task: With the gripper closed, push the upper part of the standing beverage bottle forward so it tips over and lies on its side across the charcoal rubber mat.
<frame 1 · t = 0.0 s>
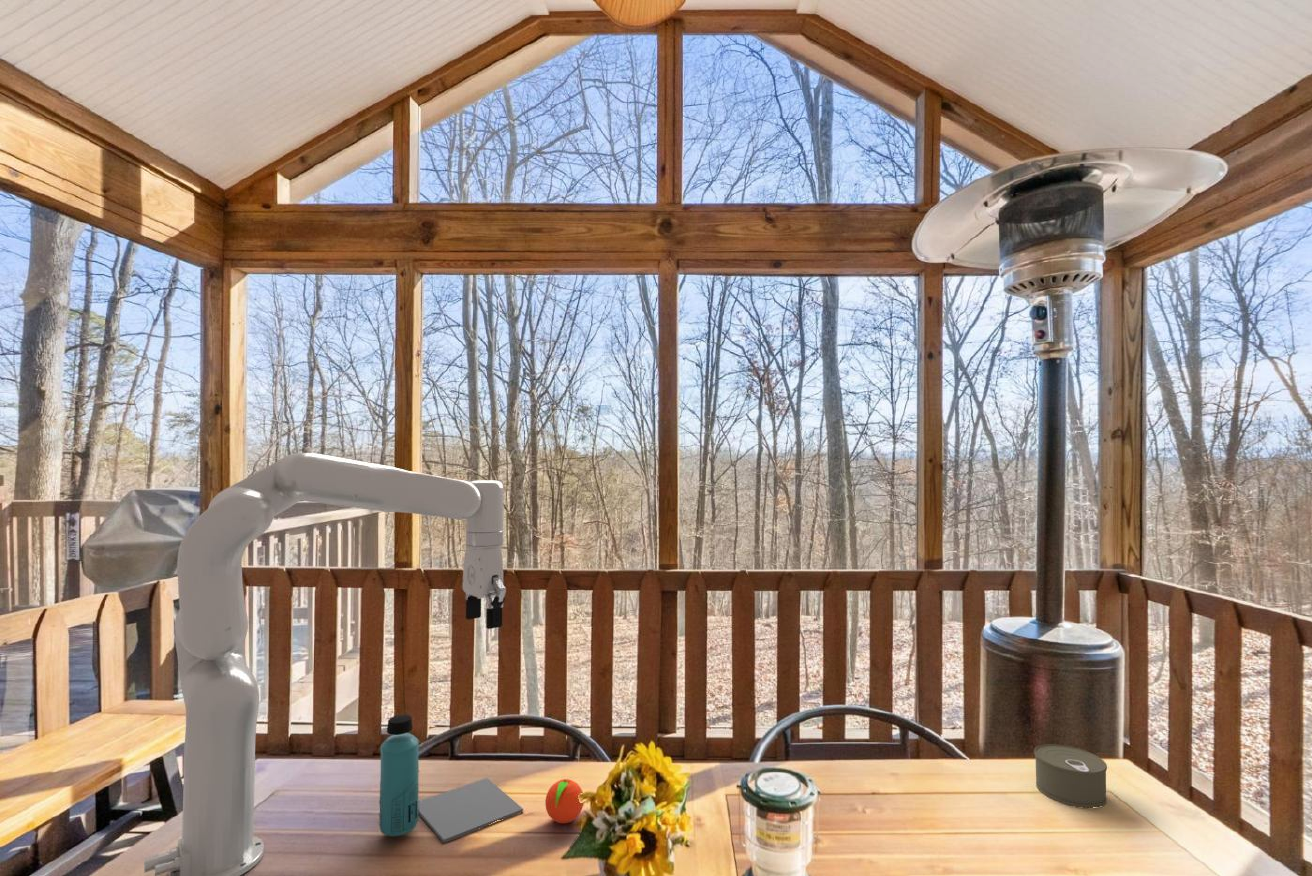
hand: (483, 622, 133), 31 cm above the table, tool pointing down, fingers open, 9 cm apart
beverage bottle: (398, 835, 111), on the table
clementine: (563, 823, 115), on the table
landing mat: (467, 809, 119), on the table
can: (1070, 793, 126), on the table
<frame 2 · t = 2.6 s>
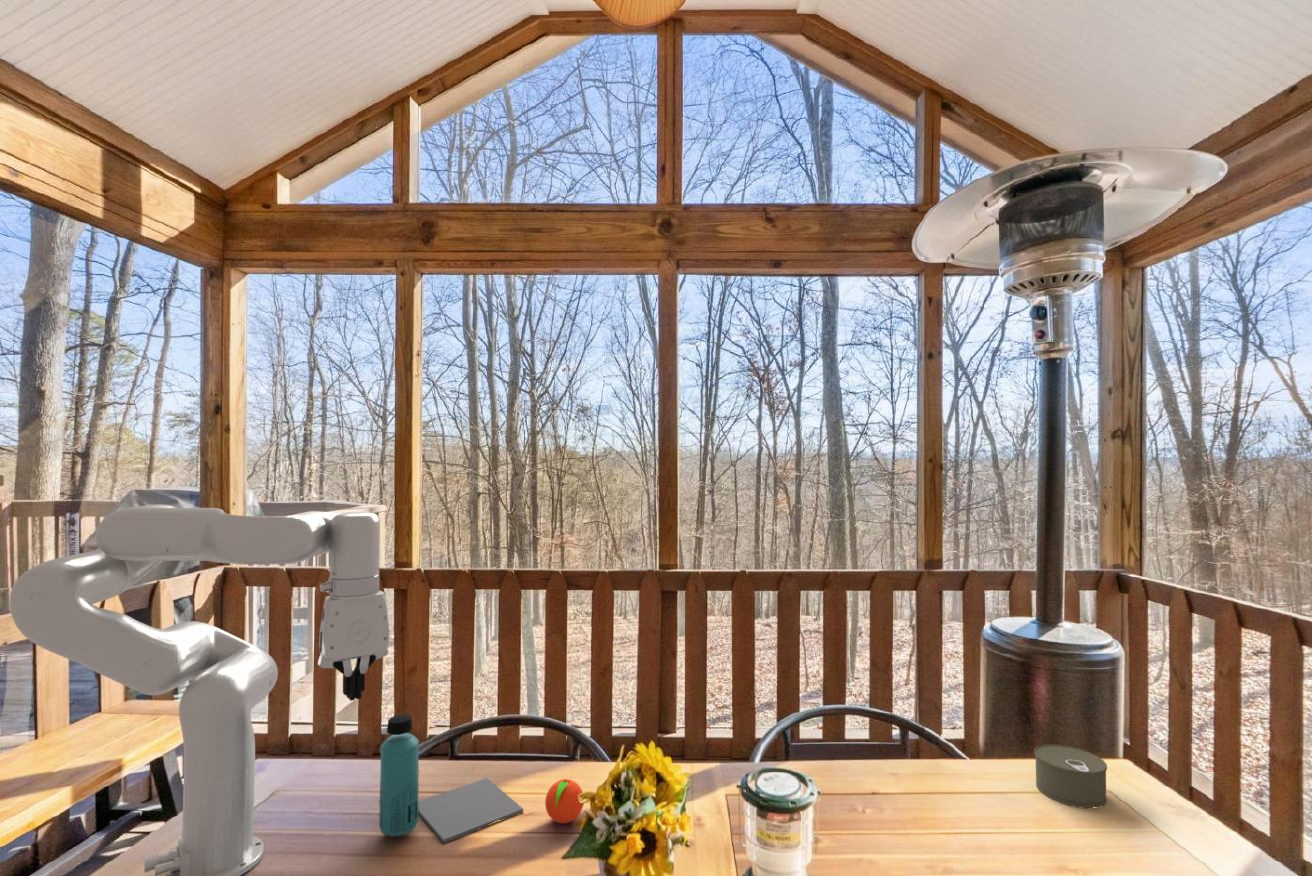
hand: (353, 697, 107), 25 cm above the table, tool pointing down, fingers closed
nothing on the table moved.
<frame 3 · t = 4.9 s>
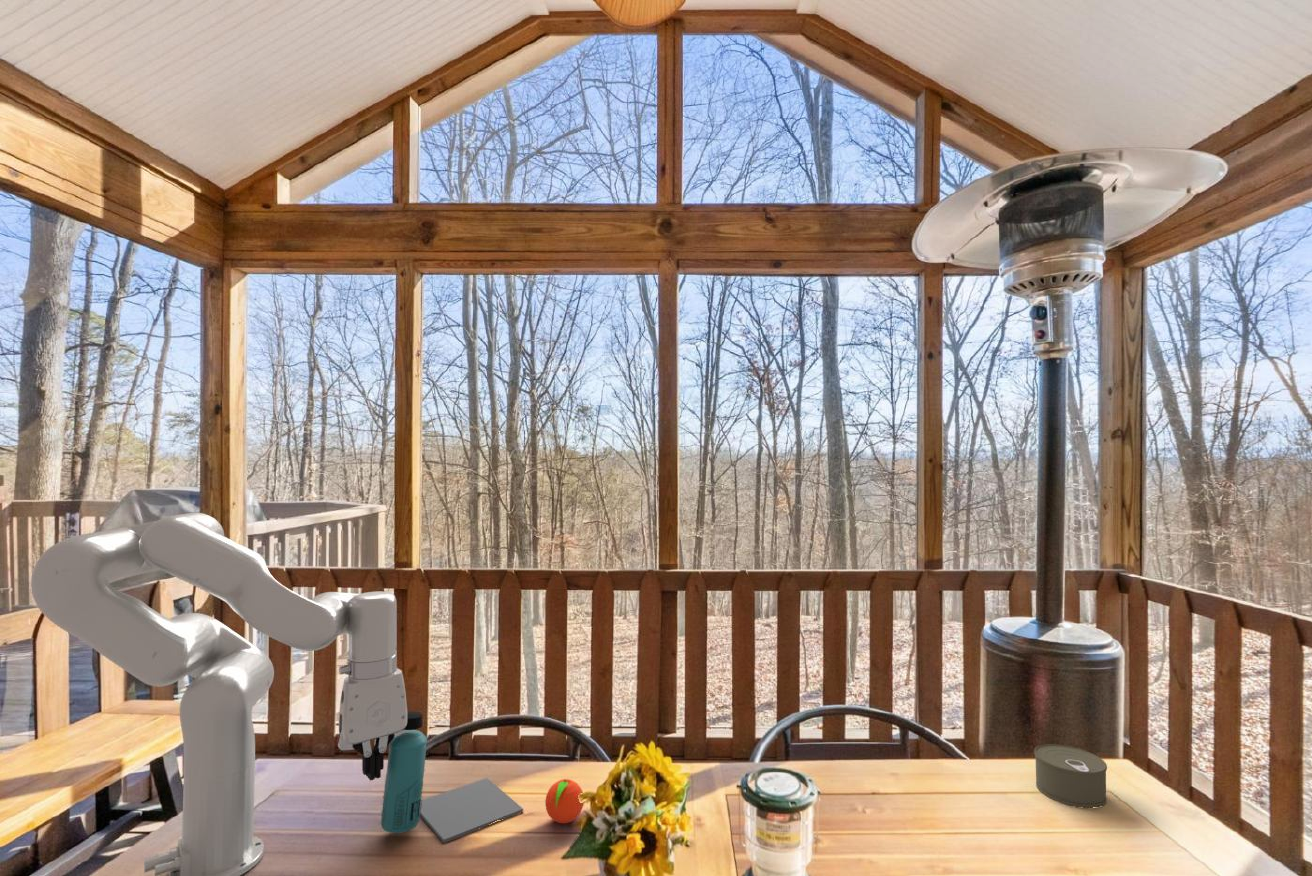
hand: (372, 775, 109), 11 cm above the table, tool pointing down, fingers closed
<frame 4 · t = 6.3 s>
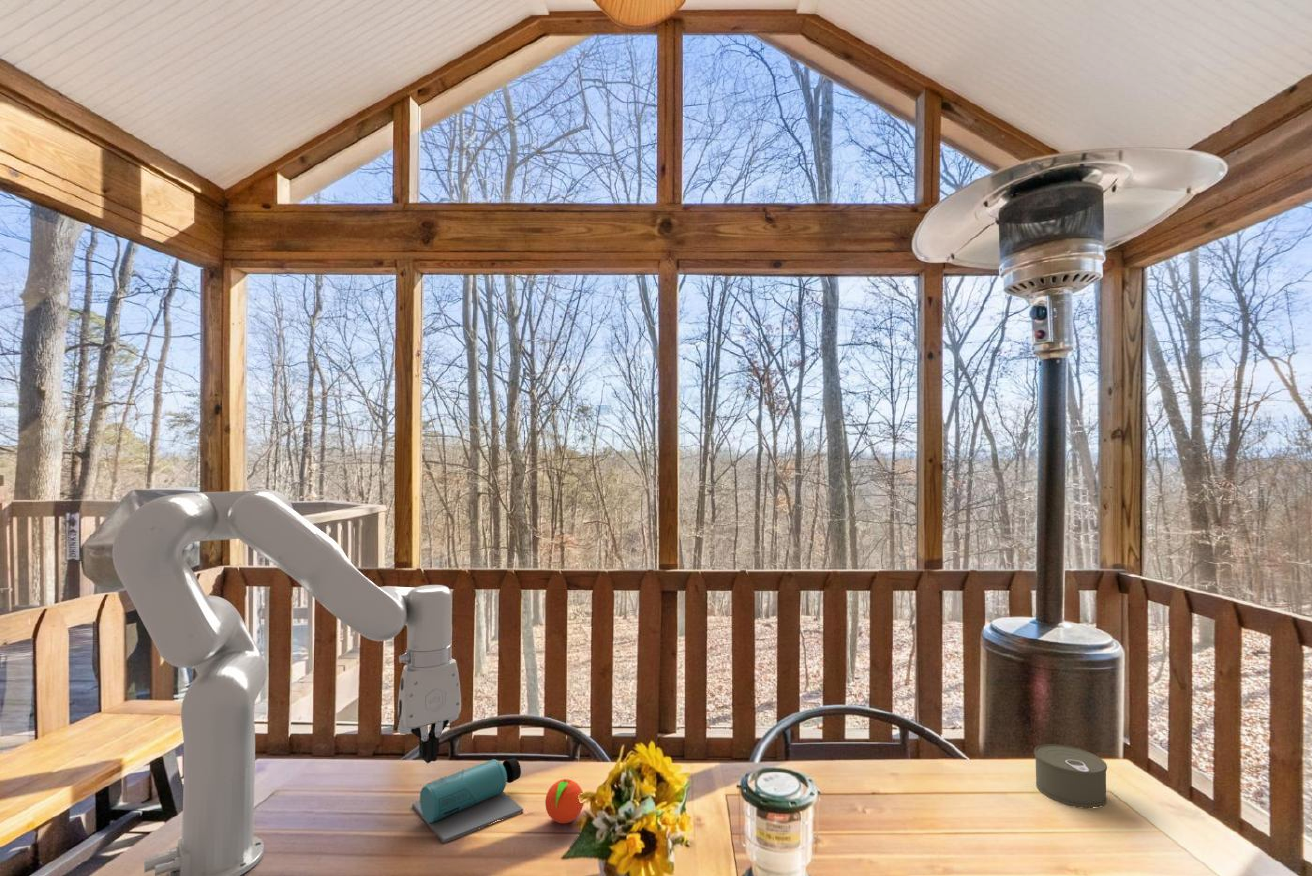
hand: (428, 759, 115), 11 cm above the table, tool pointing down, fingers closed
beverage bottle: (417, 807, 113), point 4 cm above the table, touching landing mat
everything else where it was.
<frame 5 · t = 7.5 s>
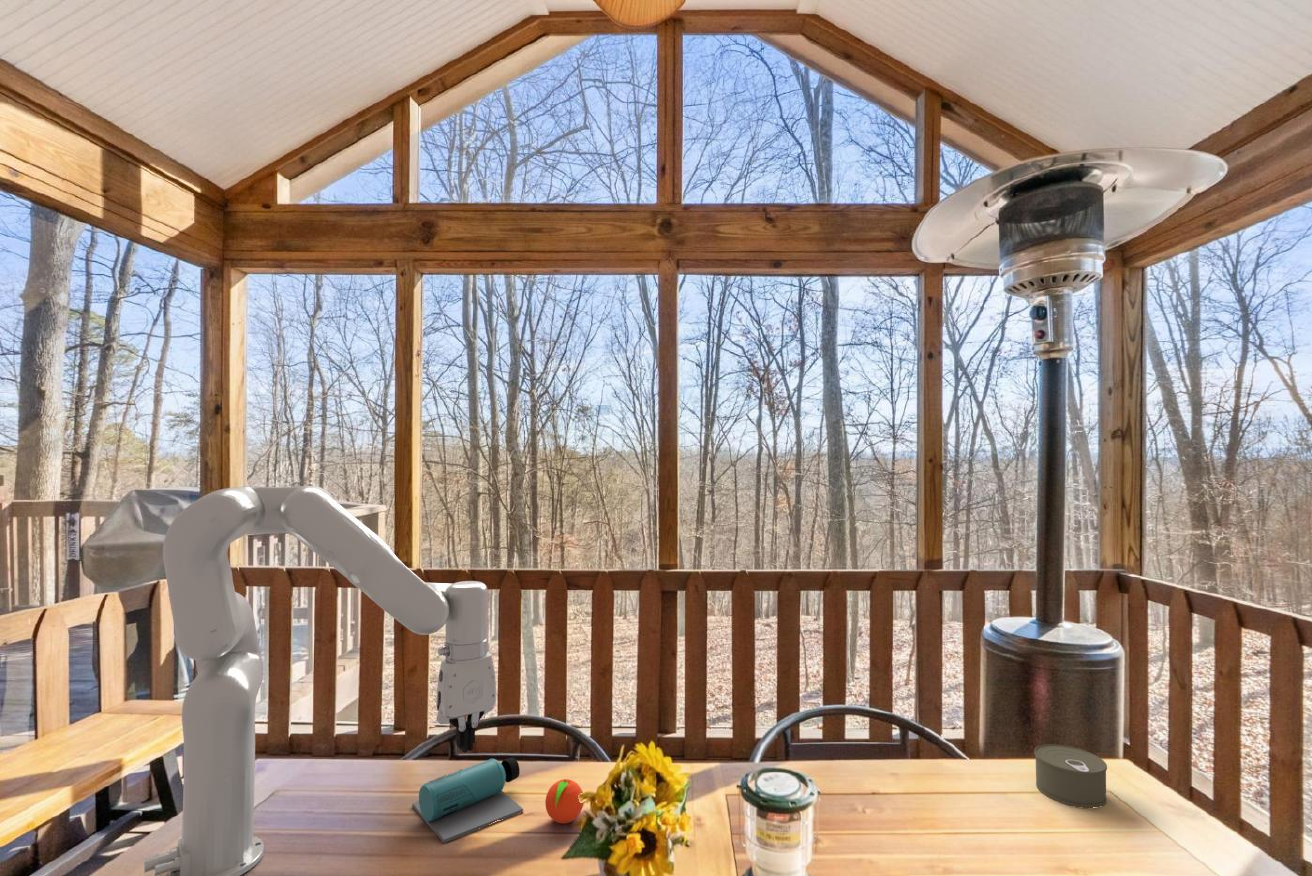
hand: (465, 748, 119), 11 cm above the table, tool pointing down, fingers closed
nothing on the table moved.
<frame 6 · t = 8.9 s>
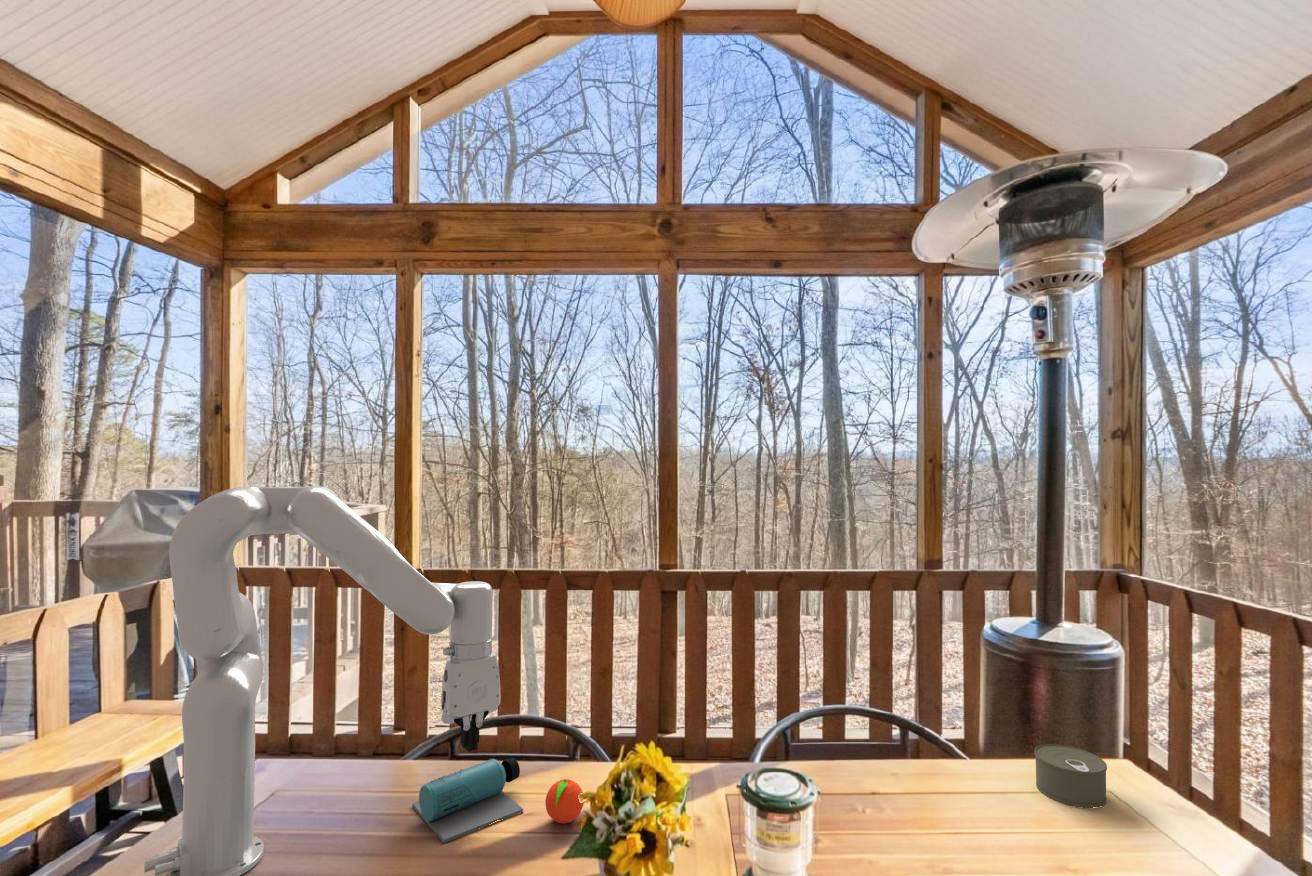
hand: (469, 748, 120), 11 cm above the table, tool pointing down, fingers closed
nothing on the table moved.
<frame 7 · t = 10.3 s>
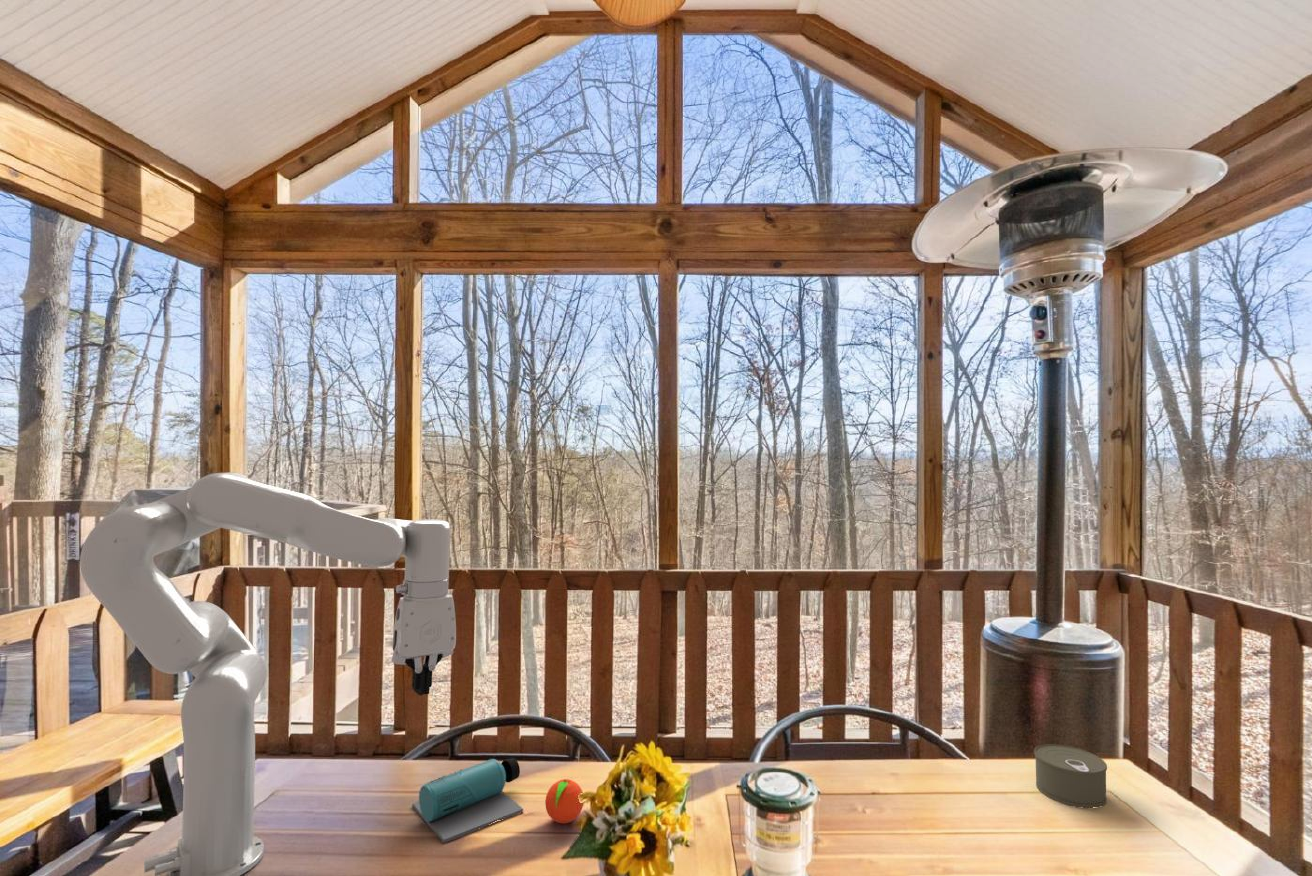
hand: (421, 692, 115), 23 cm above the table, tool pointing down, fingers closed
nothing on the table moved.
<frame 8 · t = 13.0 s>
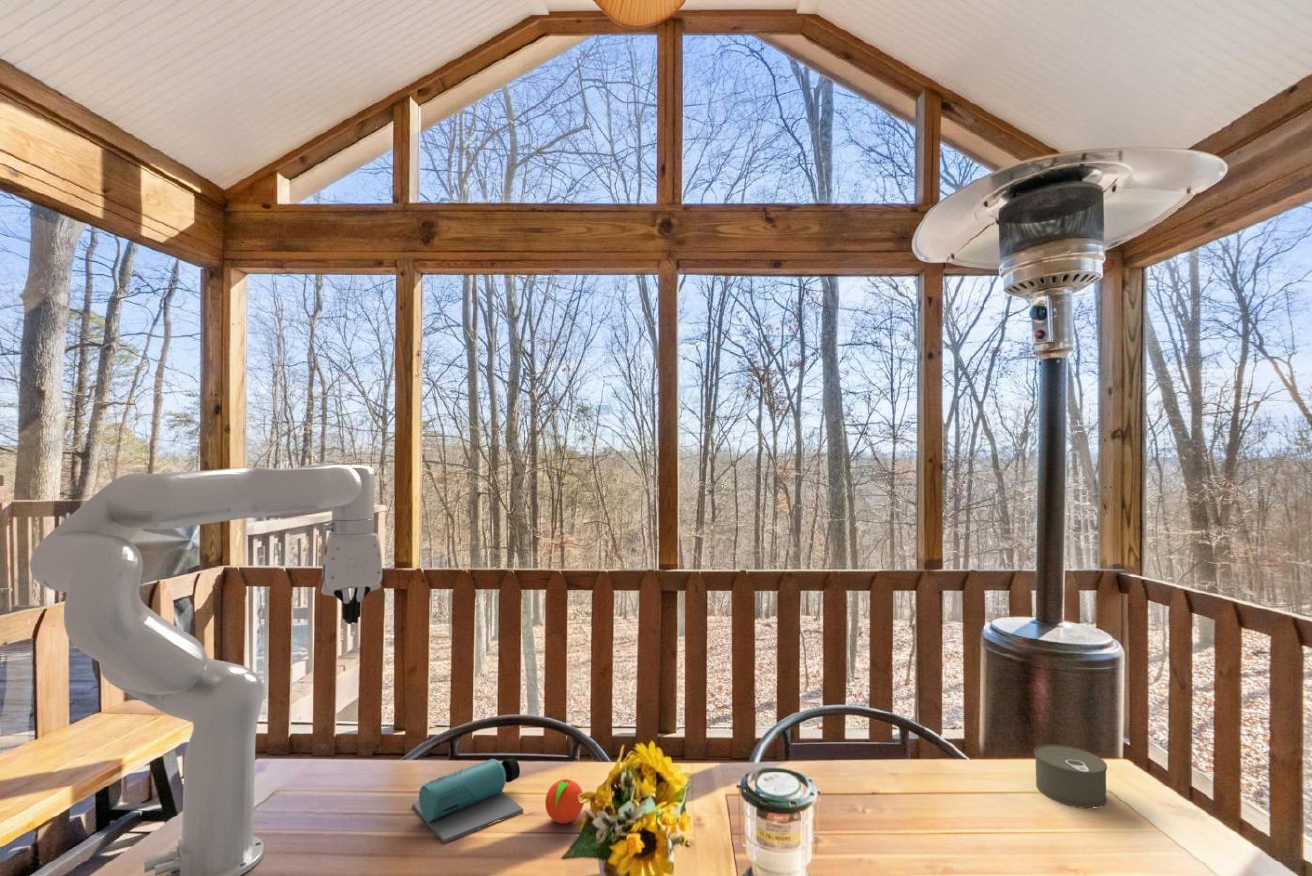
hand: (351, 621, 126), 33 cm above the table, tool pointing down, fingers closed
nothing on the table moved.
at the end: beverage bottle tilted 90°; beverage bottle touching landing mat; beverage bottle inside the target area (9.0 cm from its centre), point 3.8 cm above the table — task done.
